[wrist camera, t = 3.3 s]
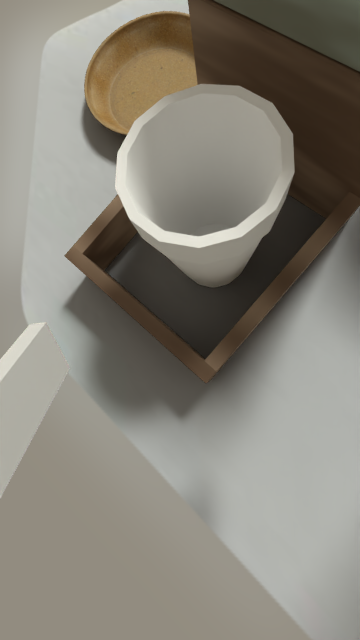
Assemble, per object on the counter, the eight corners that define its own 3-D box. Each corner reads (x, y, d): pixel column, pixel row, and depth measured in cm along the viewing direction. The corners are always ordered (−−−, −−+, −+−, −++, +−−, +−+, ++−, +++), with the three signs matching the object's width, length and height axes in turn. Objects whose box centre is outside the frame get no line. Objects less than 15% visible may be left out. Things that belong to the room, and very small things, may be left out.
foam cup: (151, 237, 29) (91, 136, 16) (235, 194, 28) (240, 53, 16) (190, 320, 27) (156, 279, 14) (282, 276, 26) (331, 192, 14)
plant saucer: (107, 171, 32) (96, 154, 29) (85, 66, 34) (73, 42, 32) (239, 125, 30) (240, 103, 27) (204, 18, 33) (202, -11, 30)
